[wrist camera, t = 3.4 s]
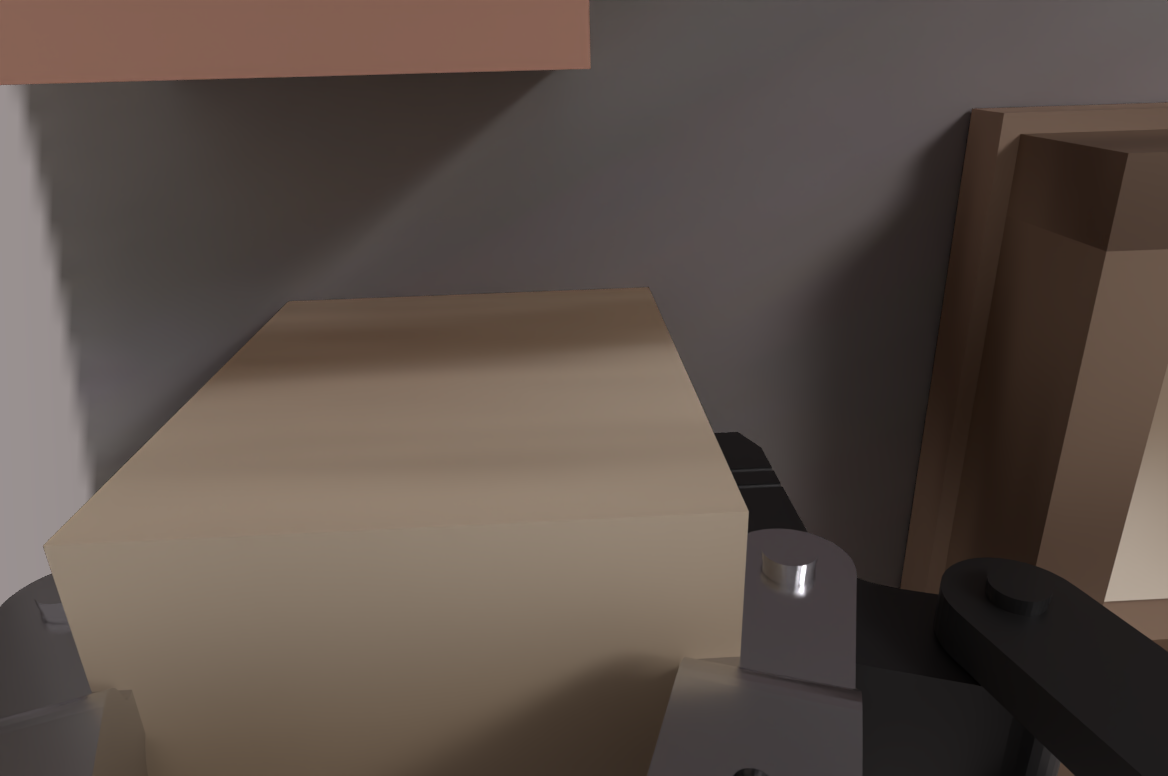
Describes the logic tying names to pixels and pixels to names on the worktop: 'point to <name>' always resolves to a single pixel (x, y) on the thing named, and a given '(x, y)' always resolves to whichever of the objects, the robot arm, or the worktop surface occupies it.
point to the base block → (416, 545)
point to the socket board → (1054, 360)
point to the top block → (284, 38)
